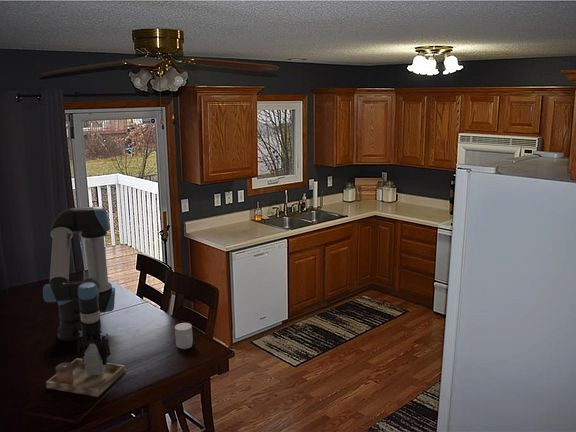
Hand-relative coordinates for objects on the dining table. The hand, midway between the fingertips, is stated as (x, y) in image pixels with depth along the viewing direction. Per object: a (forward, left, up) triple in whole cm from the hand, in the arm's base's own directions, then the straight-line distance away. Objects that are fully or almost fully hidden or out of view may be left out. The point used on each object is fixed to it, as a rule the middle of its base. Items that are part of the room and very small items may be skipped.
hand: (95, 369), depth 225 cm
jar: (-9, -8, -3) cm, 12 cm away
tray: (-2, -3, -3) cm, 5 cm away
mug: (+24, +36, -4) cm, 43 cm away
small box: (0, 0, 0) cm, 0 cm away
